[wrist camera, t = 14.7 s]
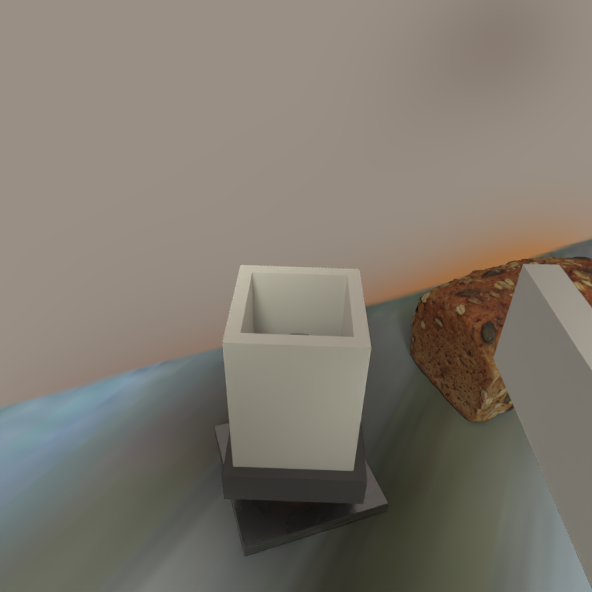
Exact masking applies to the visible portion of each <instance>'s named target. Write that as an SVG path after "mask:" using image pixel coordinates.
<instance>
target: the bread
mask: <svg viewBox="0 0 592 592" xmlns="http://www.w3.org/2000/svg"><path fill="white" fill-rule="evenodd" d="M523 264H548V265H560V266H561V268H562V269H563V270H564V272H565V273H566V274H567V276H568V277H569V278H570V280H571V281H572V282H573V284H574V285H575V286H576V288H577V289H578V290H579V291H580V293H581V294H582V295H583V297H584V298H585V299H586V301H587V302H588V303H589V305H590V306H591V307H592V259H590V258H586V257H573V258H555V257H549V258H534V259H522V260H519V261H511V262H509V263H507V264H506V265H500V266H498V267H493V268H488V269H485V270H474V271H472V273H471V274H469V275H467V276H465V277H463V278H461V279H454V280H453V281H450V282H449V283H447V284H443V285H442V286H439V287H437V288H434V289H433V290H430V291H429V292H426V293H425V294H424V295H423V296H422V297H421V298H420V300H417V302H418V306H417V308H416V311H415V313H414V315H413V316H412V323H411V330H412V338H411V342H412V343H411V346H410V349H411V355H412V356H413V357H414V360H415V362H416V363H417V365H418V366H419V368H420V369H421V371H422V372H423V373H424V374H425V375H426V376H427V377H428V378H429V380H430V381H431V382H432V383H433V384H434V385H435V386H436V387H437V388H438V389H439V390H440V392H441V393H442V394H443V396H444V397H445V398H446V399H447V400H448V401H449V402H450V403H451V404H452V405H453V406H454V408H455V409H456V410H457V411H458V412H459V413H460V414H461V415H462V416H463V417H465V418H466V419H468V420H469V421H473V422H477V421H484V422H486V421H488V420H489V419H491V418H493V417H494V416H496V415H497V414H500V413H503V412H507V411H510V410H515V408H514V405H513V403H512V401H511V398H510V396H509V394H508V391H507V389H506V387H505V384H504V382H503V380H502V377H501V375H500V373H499V370H498V368H497V366H496V363H495V361H494V359H493V358H494V355H495V351H496V348H497V345H498V342H499V339H500V336H501V332H502V329H503V326H504V323H505V320H506V317H507V313H508V310H509V307H510V304H511V301H512V298H513V294H514V291H515V288H516V285H517V282H518V279H519V275H520V272H521V269H522V266H523Z"/></svg>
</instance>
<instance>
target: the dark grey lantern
mask: <svg viewBox="0 0 592 592" xmlns="http://www.w3.org/2000/svg"><path fill="white" fill-rule="evenodd" d="M289 335H308V334H303V333H293V334H289ZM214 427H215V435H216V439H217V443H218V448H219V452H220V456H221V460H222V464H223V465H224V460H225V454H226V448H227V442H228V437H229V431H230V425H229V423H226V424H221V425H217V426H214ZM365 464H366V473H367V486H366V492H365V497H364V503H363V504H350V503H324V502H298V501H272V500H246V499H231V501H232V506H233V510H234V514H235V518H236V522H237V526H238V530H239V535H240V539H241V543H242V547H243V551H244V555H245V556H247V555H250V554H253V553H256V552H259V551H262V550H266V549H269V548H272V547H275V546H278V545H281V544H285V543H288V542H291V541H294V540H297V539H300V538H304V537H307V536H310V535H313V534H316V533H319V532H322V531H326V530H329V529H332V528H335V527H338V526H341V525H345V524H348V523H351V522H354V521H357V520H360V519H364V518H367V517H370V516H373V515H376V514H379V513H383V512H386V510H387V506H388V502H387V500H386V498H385V496H384V494H383V492H382V490H381V488H380V487H379V485H378V483H377V481H376V479H375V477H374V475H373V473H372V471H371V469H370V468H369V466H368V464H367V462H366V460H365Z"/></svg>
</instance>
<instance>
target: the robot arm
mask: <svg viewBox="0 0 592 592" xmlns="http://www.w3.org/2000/svg"><path fill="white" fill-rule="evenodd" d="M493 359H494V361H495V363H496V366H497V368H498V370H499V373H500V375H501V377H502V380H503V382H504V384H505V387H506V389H507V391H508V394H509V396H510V398H511V401H512V403H513V405H514V408H515V410H516V412H517V415H518V417H519V419H520V422H521V424H522V426H523V429H524V431H525V433H526V436H527V438H528V440H529V443H530V445H531V448H532V450H533V452H534V455H535V457H536V459H537V462H538V464H539V466H540V469H541V471H542V473H543V476H544V478H545V480H546V483H547V485H548V487H549V490H550V492H551V494H552V497H553V499H554V501H555V504H556V506H557V508H558V511H559V513H560V515H561V518H562V520H563V522H564V525H565V527H566V529H567V532H568V534H569V537H570V539H571V541H572V544H573V546H574V548H575V551H576V553H577V555H578V558H579V560H580V562H581V565H582V567H583V569H584V572H585V574H586V576H587V579H588V581H589V583H590V586H591V588H592V307H591V306H590V305H589V303H588V302H587V301H586V299H585V298H584V297H583V295H582V294H581V293H580V291H579V290H578V289H577V288H576V286H575V285H574V284H573V282H572V281H571V280H570V278H569V277H568V276H567V274H566V273H565V272H564V270H563V269H562V268H561V266H560V265H548V264H523V266H522V269H521V272H520V275H519V279H518V282H517V285H516V288H515V291H514V294H513V298H512V301H511V304H510V307H509V310H508V313H507V317H506V320H505V323H504V326H503V329H502V332H501V336H500V339H499V342H498V345H497V348H496V351H495V355H494V358H493Z"/></svg>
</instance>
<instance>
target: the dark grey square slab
mask: <svg viewBox="0 0 592 592" xmlns="http://www.w3.org/2000/svg"><path fill="white" fill-rule="evenodd" d="M222 483H223V492H224V499H246V500H272V501H298V502H324V503H350V504H363V503H364V497H365V492H366V486H367V473H366V464H365V454H364V444H363V435H362V425H361V422H360V429H359V435H358V442H357V449H356V456H355V463H354V470H353V471H340V470H313V469H286V468H260V467H233V460H232V448H231V437H230V431H229V437H228V442H227V448H226V454H225V460H224V465H223V471H222Z"/></svg>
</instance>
